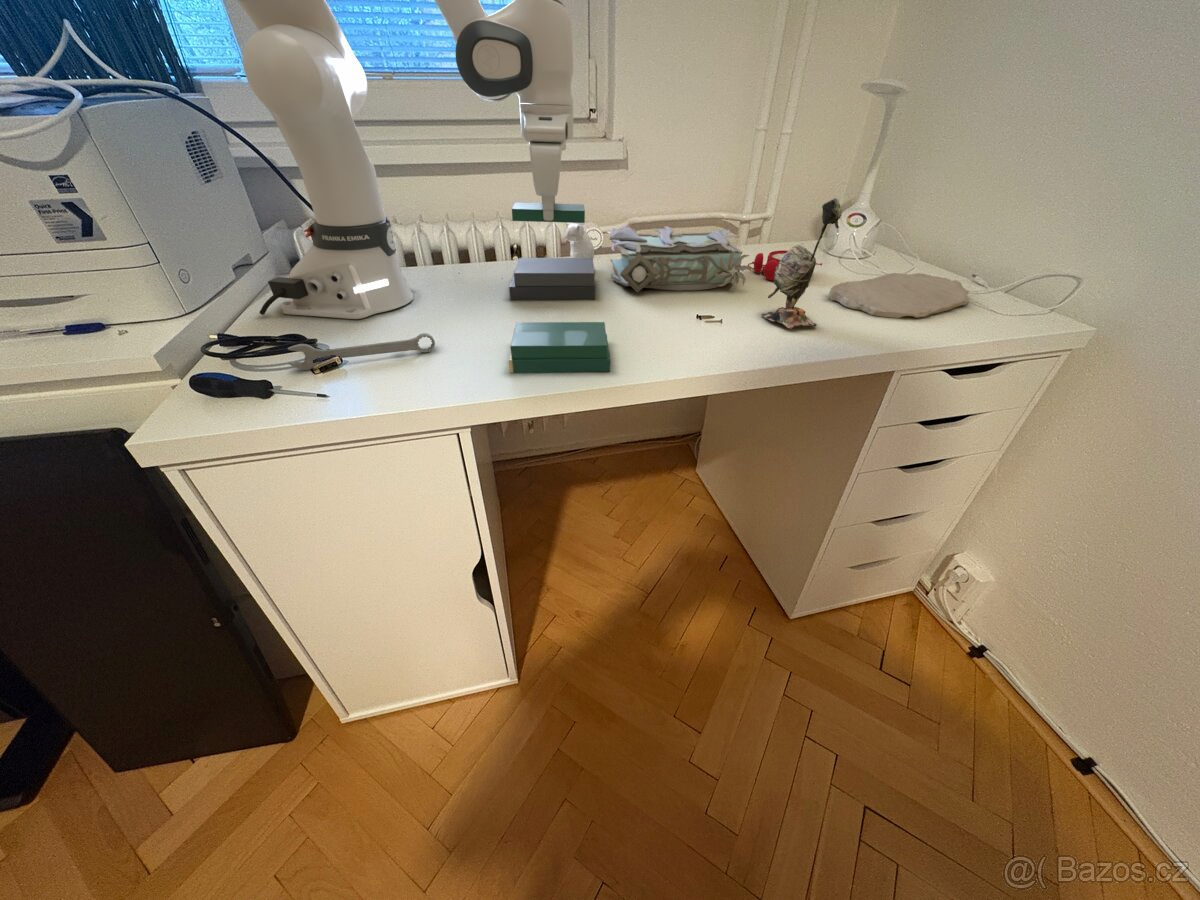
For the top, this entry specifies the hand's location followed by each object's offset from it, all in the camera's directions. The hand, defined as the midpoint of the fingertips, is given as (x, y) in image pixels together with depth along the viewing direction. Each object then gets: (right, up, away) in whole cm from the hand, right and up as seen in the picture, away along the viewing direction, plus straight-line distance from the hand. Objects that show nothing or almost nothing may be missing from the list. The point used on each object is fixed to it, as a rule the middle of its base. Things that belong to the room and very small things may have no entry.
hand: (549, 215), depth 89 cm
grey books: (0, -11, +9) cm, 14 cm away
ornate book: (+26, -6, +16) cm, 31 cm away
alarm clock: (+50, -4, +19) cm, 53 cm away
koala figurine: (+4, -2, +21) cm, 21 cm away
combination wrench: (-25, -30, -17) cm, 43 cm away
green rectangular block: (+4, -30, -16) cm, 34 cm away
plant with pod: (+43, -20, -2) cm, 47 cm away
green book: (0, 0, 0) cm, 1 cm away
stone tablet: (+70, -14, +7) cm, 72 cm away
